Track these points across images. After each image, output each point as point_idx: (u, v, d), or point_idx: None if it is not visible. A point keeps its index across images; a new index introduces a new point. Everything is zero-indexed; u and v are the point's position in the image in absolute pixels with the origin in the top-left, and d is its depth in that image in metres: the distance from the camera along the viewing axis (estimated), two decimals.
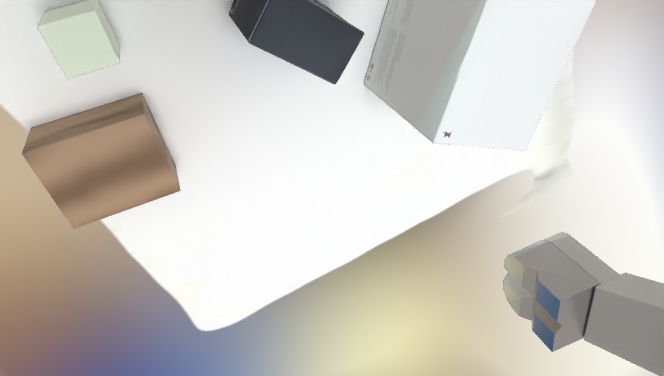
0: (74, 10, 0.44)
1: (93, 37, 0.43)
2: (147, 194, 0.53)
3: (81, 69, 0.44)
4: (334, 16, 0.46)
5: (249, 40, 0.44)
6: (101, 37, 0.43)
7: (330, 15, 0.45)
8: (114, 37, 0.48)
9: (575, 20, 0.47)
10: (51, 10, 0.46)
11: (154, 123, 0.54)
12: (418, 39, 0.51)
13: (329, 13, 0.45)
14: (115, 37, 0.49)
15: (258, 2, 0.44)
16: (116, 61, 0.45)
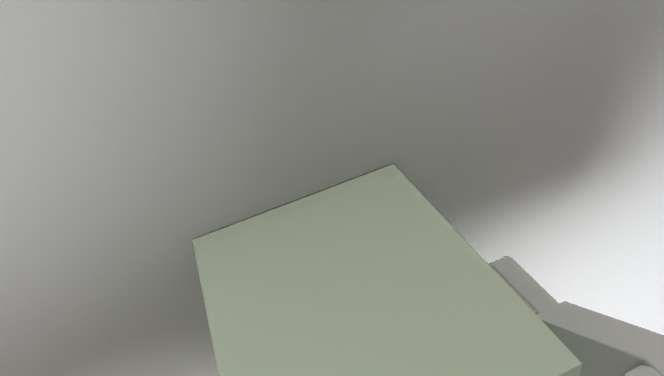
0: (382, 295, 0.08)
1: None
2: None
3: None
4: None
5: None
6: None
7: None
8: None
9: None
10: (223, 243, 0.10)
11: None
12: None
13: None
14: None
15: None
16: None
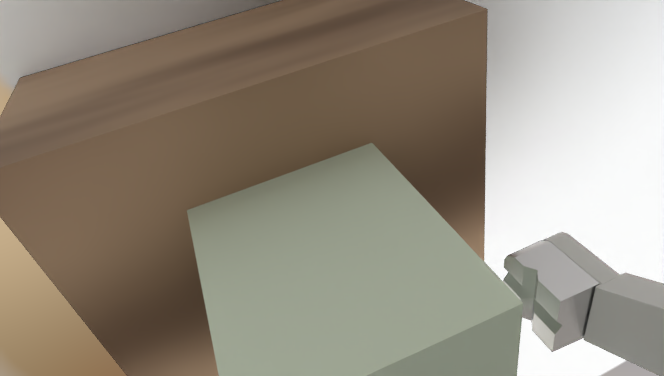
0: (355, 253, 0.09)
1: None
2: None
3: None
4: None
5: None
6: None
7: None
8: None
9: None
10: (214, 212, 0.11)
11: None
12: None
13: None
14: None
15: None
16: None
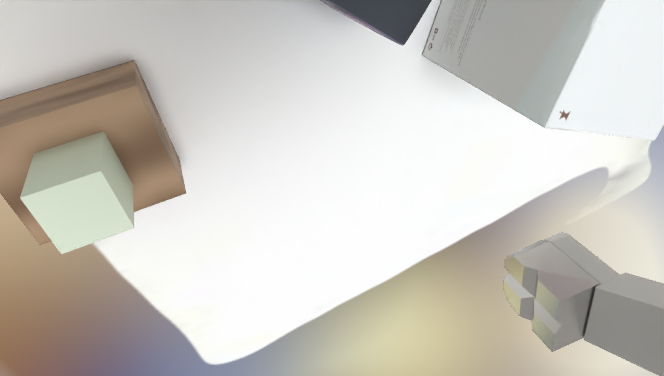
0: (72, 162, 0.32)
1: (99, 202, 0.32)
2: (141, 198, 0.39)
3: (82, 240, 0.33)
4: None
5: None
6: (110, 201, 0.32)
7: None
8: (125, 180, 0.36)
9: None
10: (42, 153, 0.34)
11: (151, 102, 0.40)
12: None
13: None
14: (127, 177, 0.37)
15: None
16: (129, 226, 0.33)
